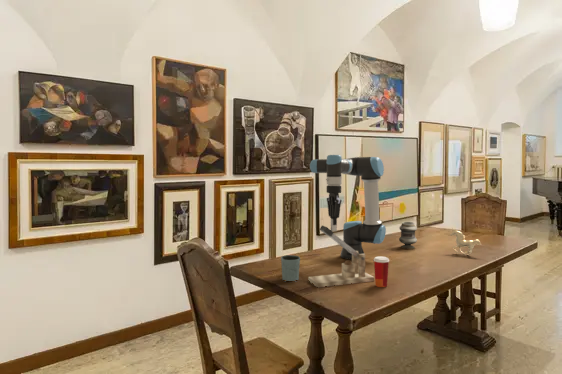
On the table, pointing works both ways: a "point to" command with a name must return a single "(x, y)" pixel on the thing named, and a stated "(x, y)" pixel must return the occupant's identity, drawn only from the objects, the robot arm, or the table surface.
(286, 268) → the blue grey planter pot
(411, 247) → the apothecary jar
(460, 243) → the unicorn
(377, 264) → the paper cup
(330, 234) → the lever
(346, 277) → the press base
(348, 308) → the table surface
